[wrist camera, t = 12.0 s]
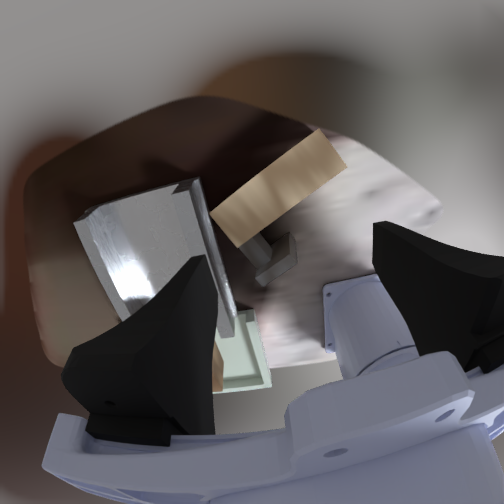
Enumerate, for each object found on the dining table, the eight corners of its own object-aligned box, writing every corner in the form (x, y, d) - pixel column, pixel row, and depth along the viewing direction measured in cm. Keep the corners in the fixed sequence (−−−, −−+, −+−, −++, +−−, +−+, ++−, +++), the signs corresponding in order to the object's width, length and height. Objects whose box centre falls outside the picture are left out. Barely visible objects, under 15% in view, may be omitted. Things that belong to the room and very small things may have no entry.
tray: (271, 375, 32) (272, 386, 30) (170, 385, 33) (168, 395, 31) (254, 308, 27) (254, 321, 25) (131, 325, 27) (126, 336, 26)
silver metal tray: (238, 311, 27) (237, 336, 24) (143, 323, 27) (135, 347, 24) (200, 176, 20) (193, 189, 17) (89, 207, 21) (70, 223, 18)
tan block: (267, 259, 24) (357, 195, 21) (262, 287, 19) (377, 206, 16) (222, 203, 23) (312, 133, 20) (204, 217, 18) (320, 126, 15)
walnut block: (223, 361, 30) (222, 391, 26) (189, 364, 30) (185, 393, 26) (213, 337, 28) (211, 368, 24) (176, 341, 28) (170, 371, 24)
